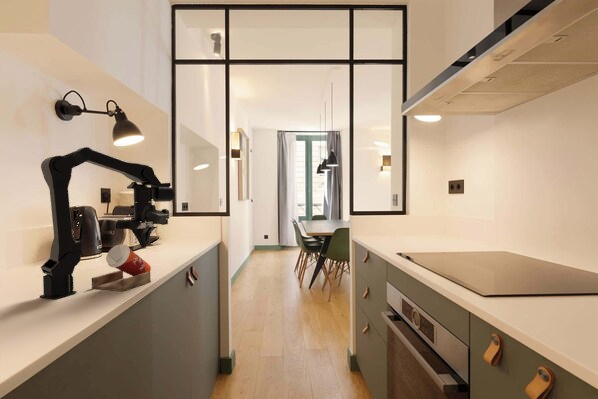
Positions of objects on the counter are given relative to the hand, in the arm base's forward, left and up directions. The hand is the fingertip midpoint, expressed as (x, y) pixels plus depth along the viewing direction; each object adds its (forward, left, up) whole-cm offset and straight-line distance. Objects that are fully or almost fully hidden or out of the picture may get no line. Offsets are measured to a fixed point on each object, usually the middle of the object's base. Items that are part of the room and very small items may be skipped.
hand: (143, 247), depth 120 cm
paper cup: (0, 0, -8) cm, 8 cm away
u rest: (-10, 0, -10) cm, 14 cm away
